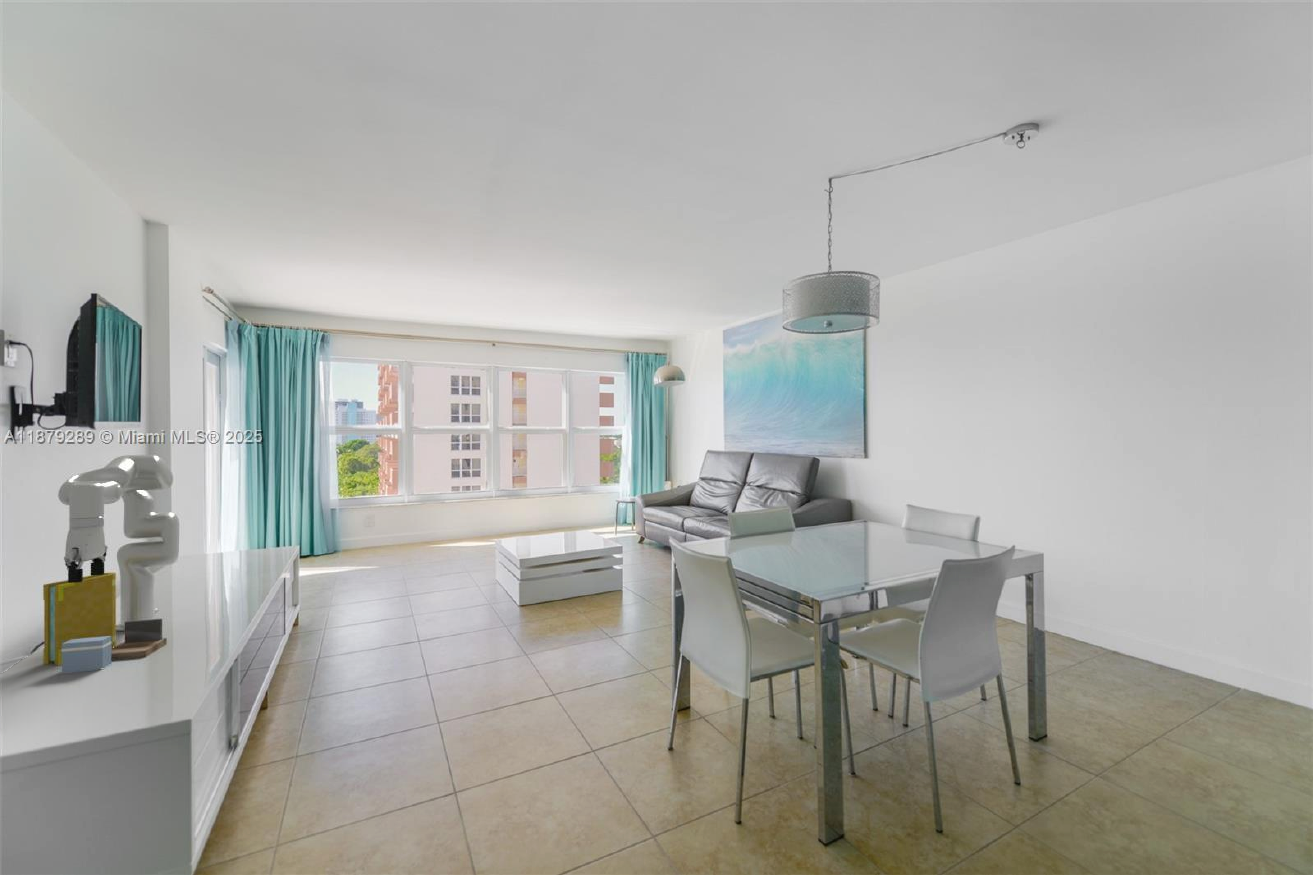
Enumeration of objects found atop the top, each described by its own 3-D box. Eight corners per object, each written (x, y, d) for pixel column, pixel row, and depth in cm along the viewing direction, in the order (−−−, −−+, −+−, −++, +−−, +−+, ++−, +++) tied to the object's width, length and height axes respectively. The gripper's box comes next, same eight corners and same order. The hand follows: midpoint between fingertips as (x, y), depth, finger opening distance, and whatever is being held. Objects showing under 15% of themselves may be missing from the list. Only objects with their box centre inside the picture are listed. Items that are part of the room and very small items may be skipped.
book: (59, 665, 174) (59, 585, 174) (43, 663, 175) (43, 584, 175) (121, 645, 190) (121, 572, 190) (106, 644, 192) (105, 572, 192)
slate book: (71, 668, 172) (71, 639, 172) (111, 664, 175) (111, 635, 175) (61, 673, 168) (61, 643, 168) (102, 669, 171) (102, 640, 171)
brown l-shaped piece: (123, 647, 188) (123, 621, 188) (166, 643, 192) (166, 617, 192) (100, 661, 177) (100, 633, 177) (146, 656, 180) (145, 629, 180)
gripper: (90, 520, 179) (90, 573, 178) (50, 527, 162) (50, 586, 162) (119, 518, 181) (119, 571, 181) (82, 526, 164) (82, 584, 164)
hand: (86, 578), depth 171 cm, fingers open, 9 cm apart
